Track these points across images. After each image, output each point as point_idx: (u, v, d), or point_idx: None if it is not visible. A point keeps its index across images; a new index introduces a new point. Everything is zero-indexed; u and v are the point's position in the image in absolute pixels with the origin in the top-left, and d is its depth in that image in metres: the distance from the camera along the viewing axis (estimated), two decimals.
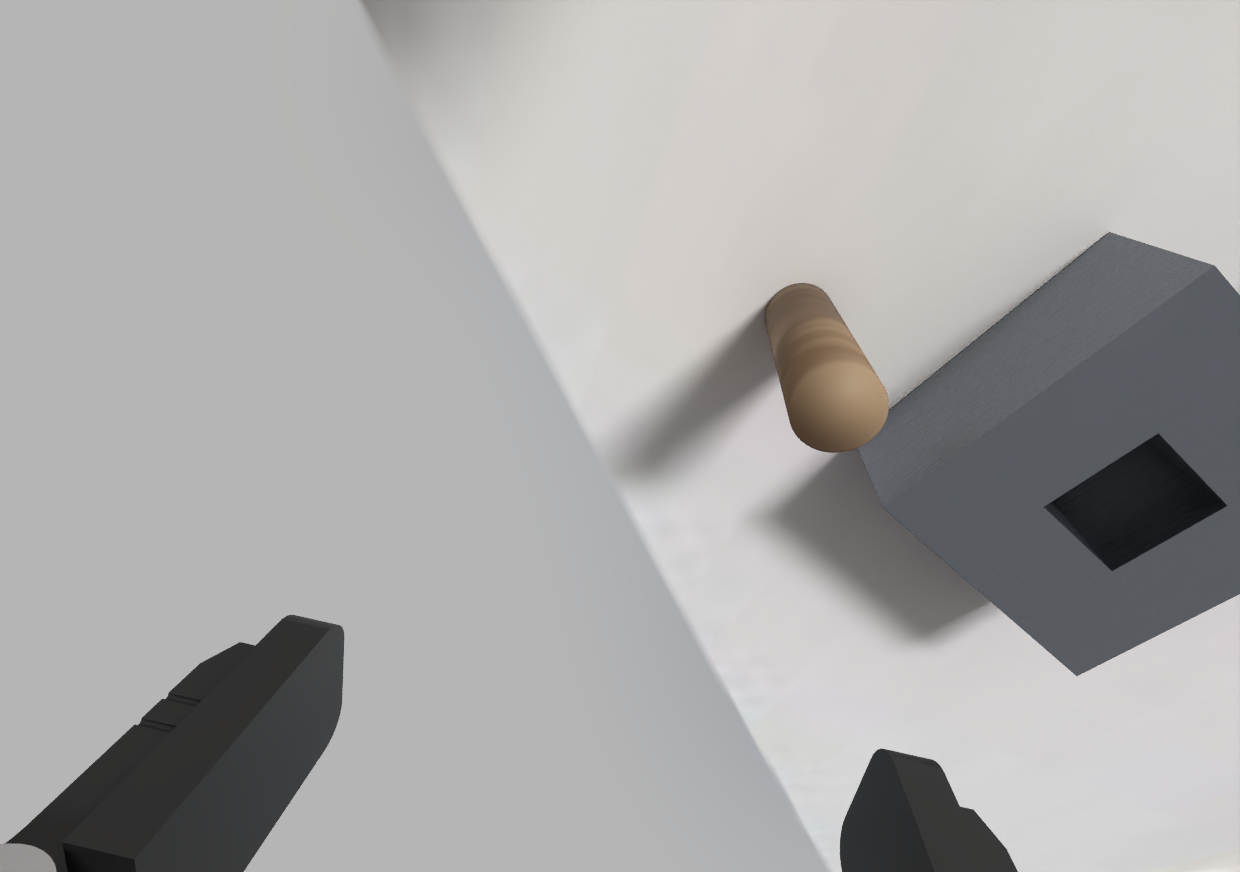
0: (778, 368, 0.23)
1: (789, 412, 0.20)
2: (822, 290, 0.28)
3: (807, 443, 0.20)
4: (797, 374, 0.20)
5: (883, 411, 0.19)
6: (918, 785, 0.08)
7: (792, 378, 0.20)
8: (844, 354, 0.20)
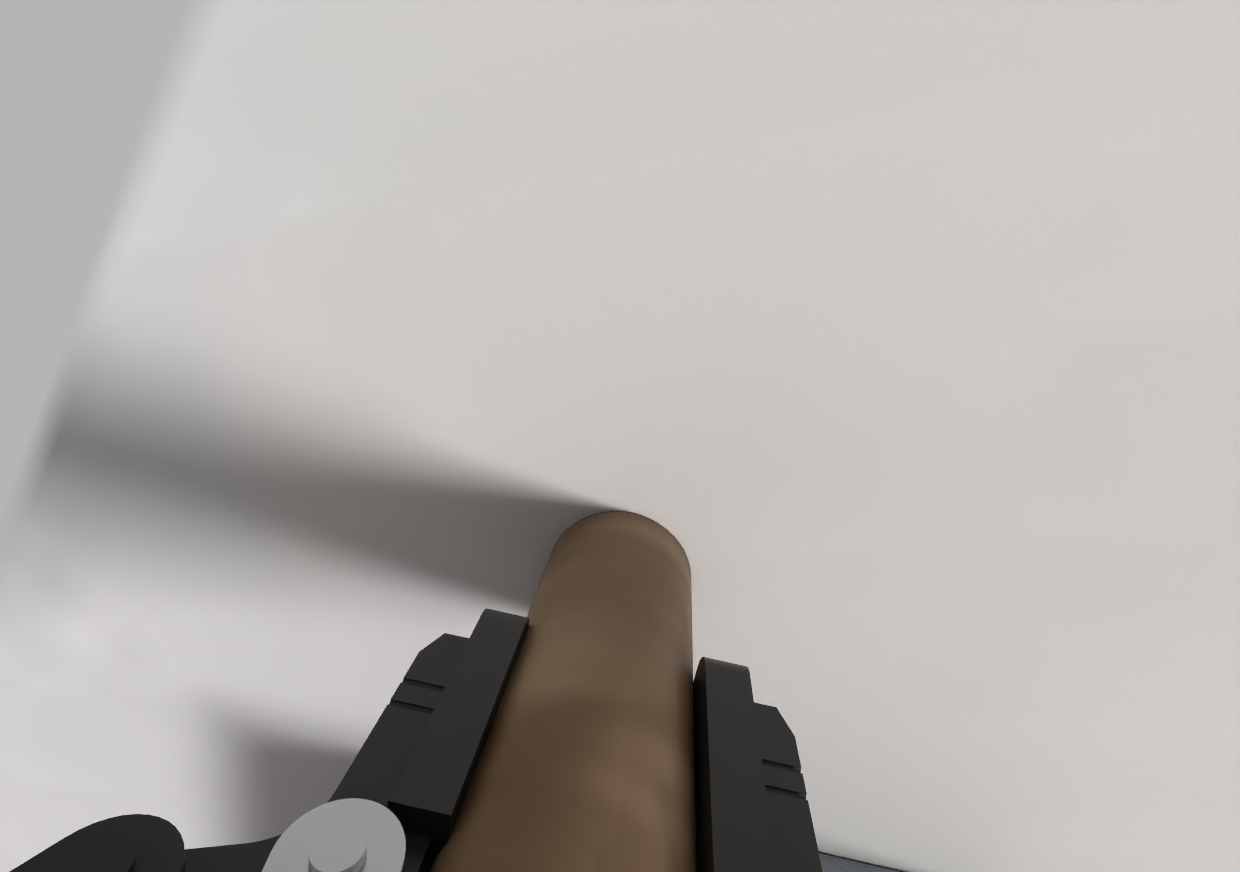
0: (489, 799, 0.07)
1: None
2: None
3: None
4: None
5: None
6: (721, 682, 0.09)
7: None
8: None
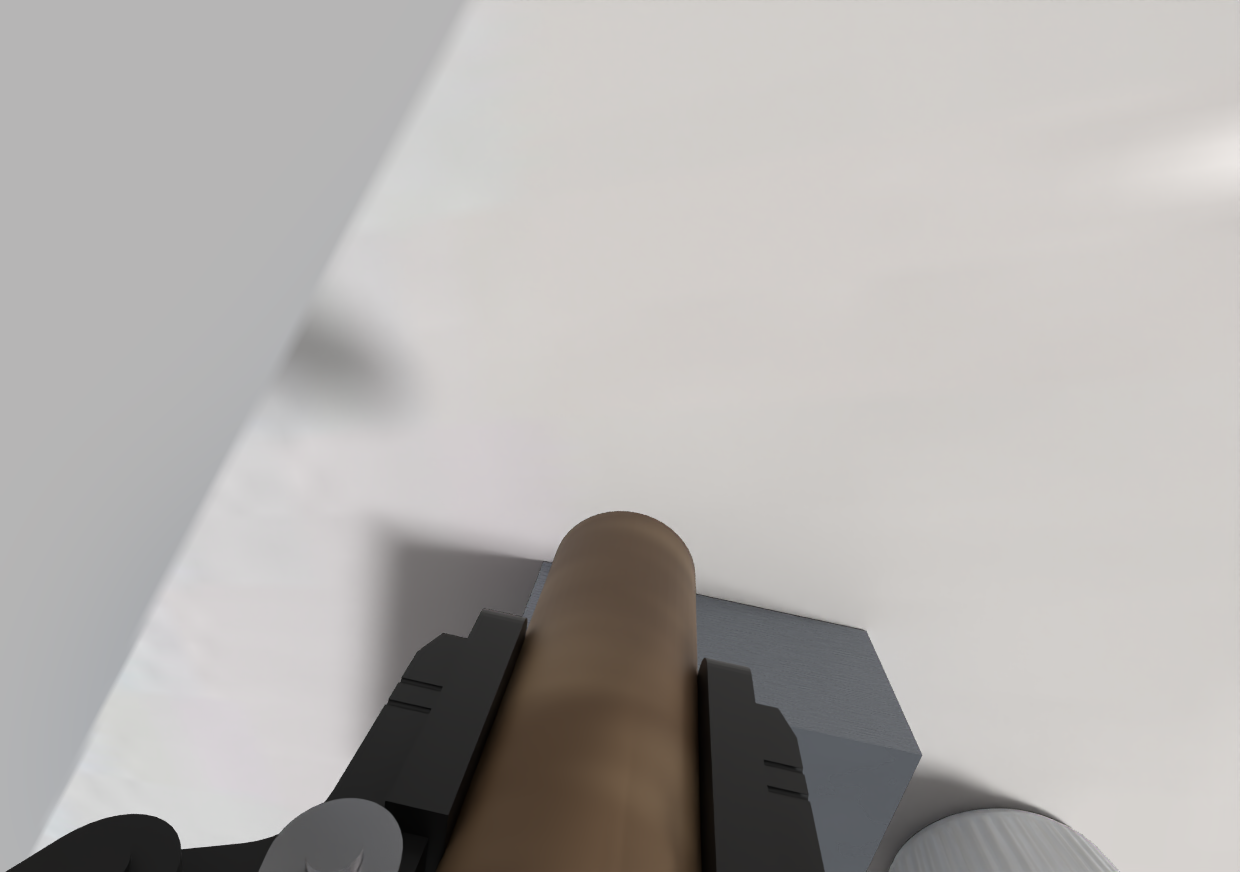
0: (495, 796, 0.07)
1: None
2: None
3: None
4: None
5: None
6: (723, 683, 0.09)
7: None
8: None
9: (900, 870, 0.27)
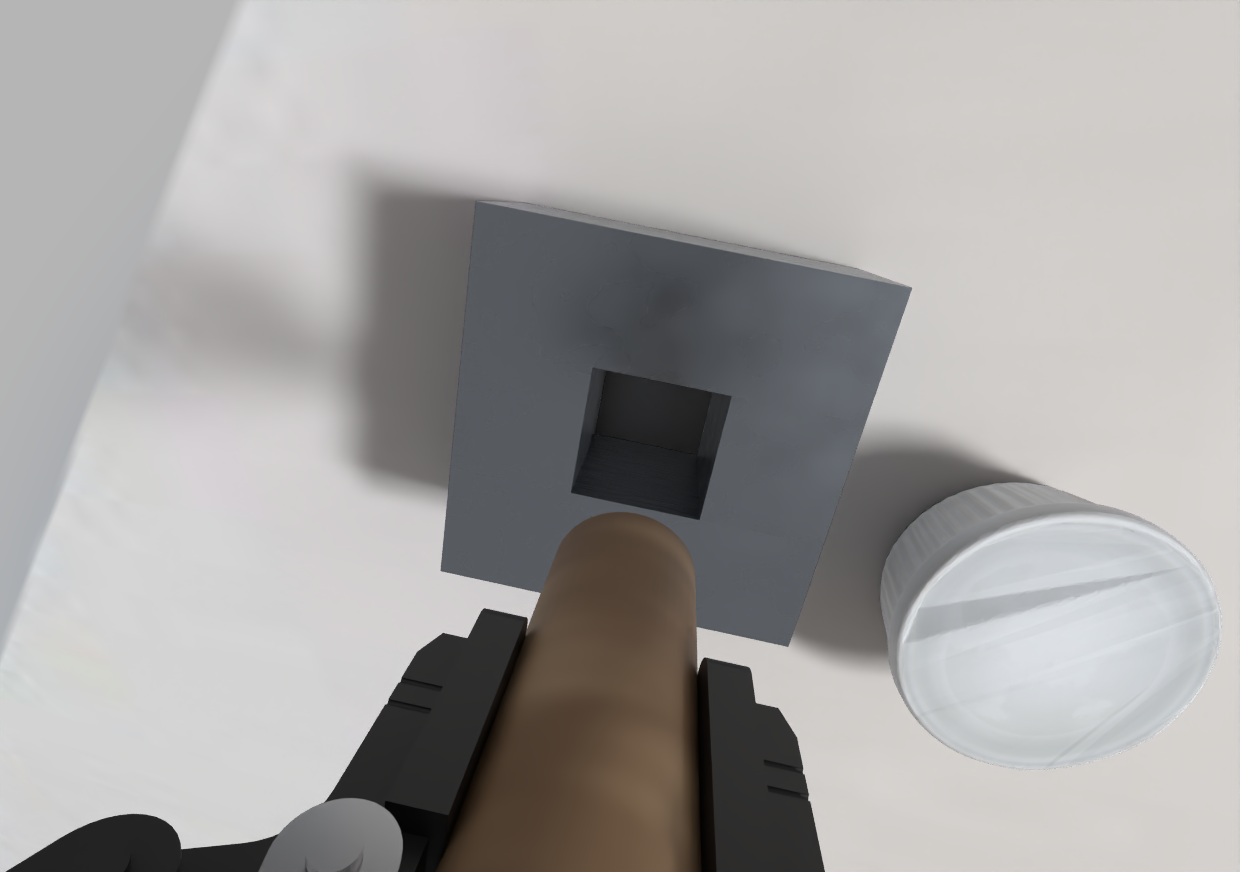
0: (495, 798, 0.07)
1: None
2: None
3: None
4: None
5: None
6: (723, 683, 0.09)
7: None
8: None
9: (896, 550, 0.26)
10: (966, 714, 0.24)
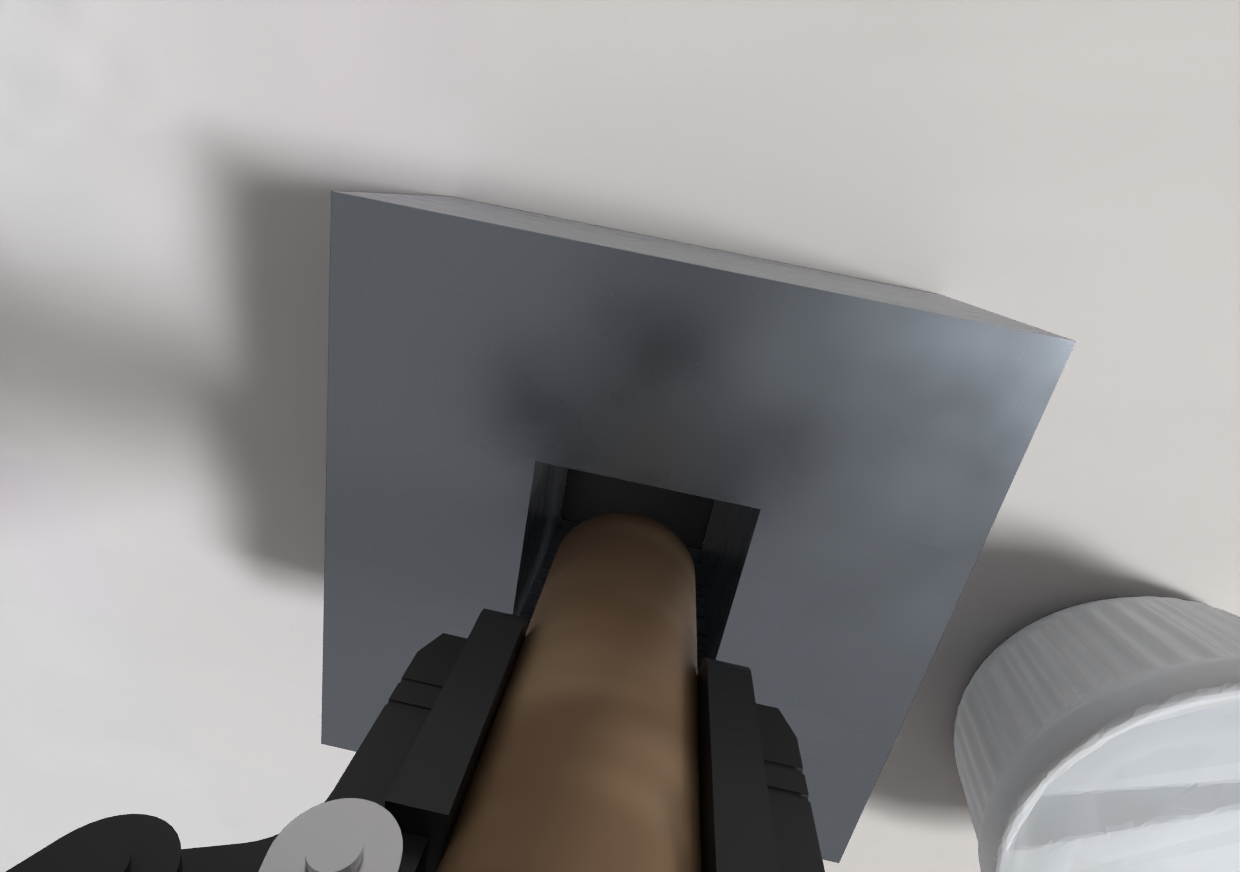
0: (494, 799, 0.07)
1: None
2: None
3: None
4: None
5: None
6: (723, 683, 0.09)
7: None
8: None
9: (982, 687, 0.19)
10: None
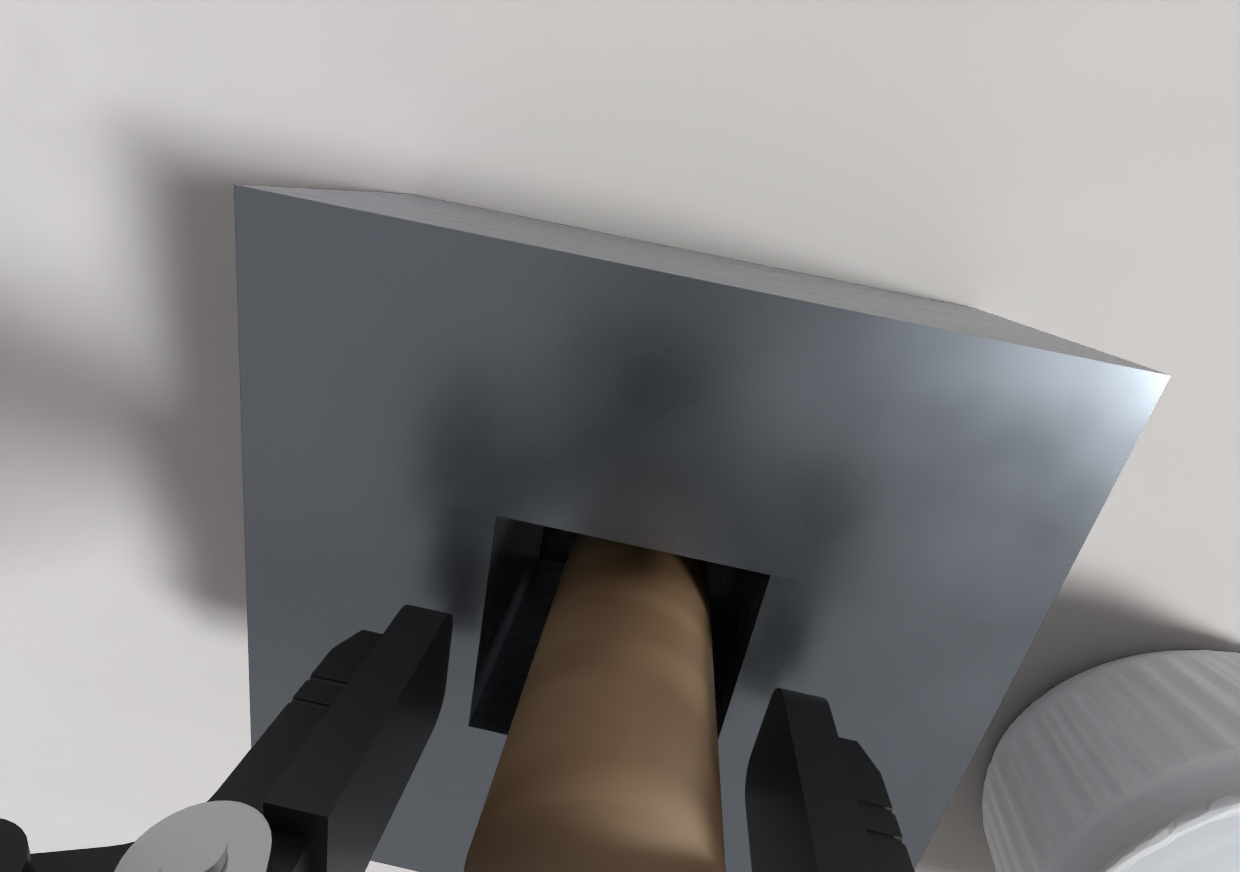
0: (573, 610, 0.10)
1: (512, 808, 0.07)
2: None
3: None
4: (609, 738, 0.07)
5: None
6: (803, 716, 0.09)
7: (589, 728, 0.07)
8: (713, 790, 0.08)
9: (1017, 752, 0.16)
10: None
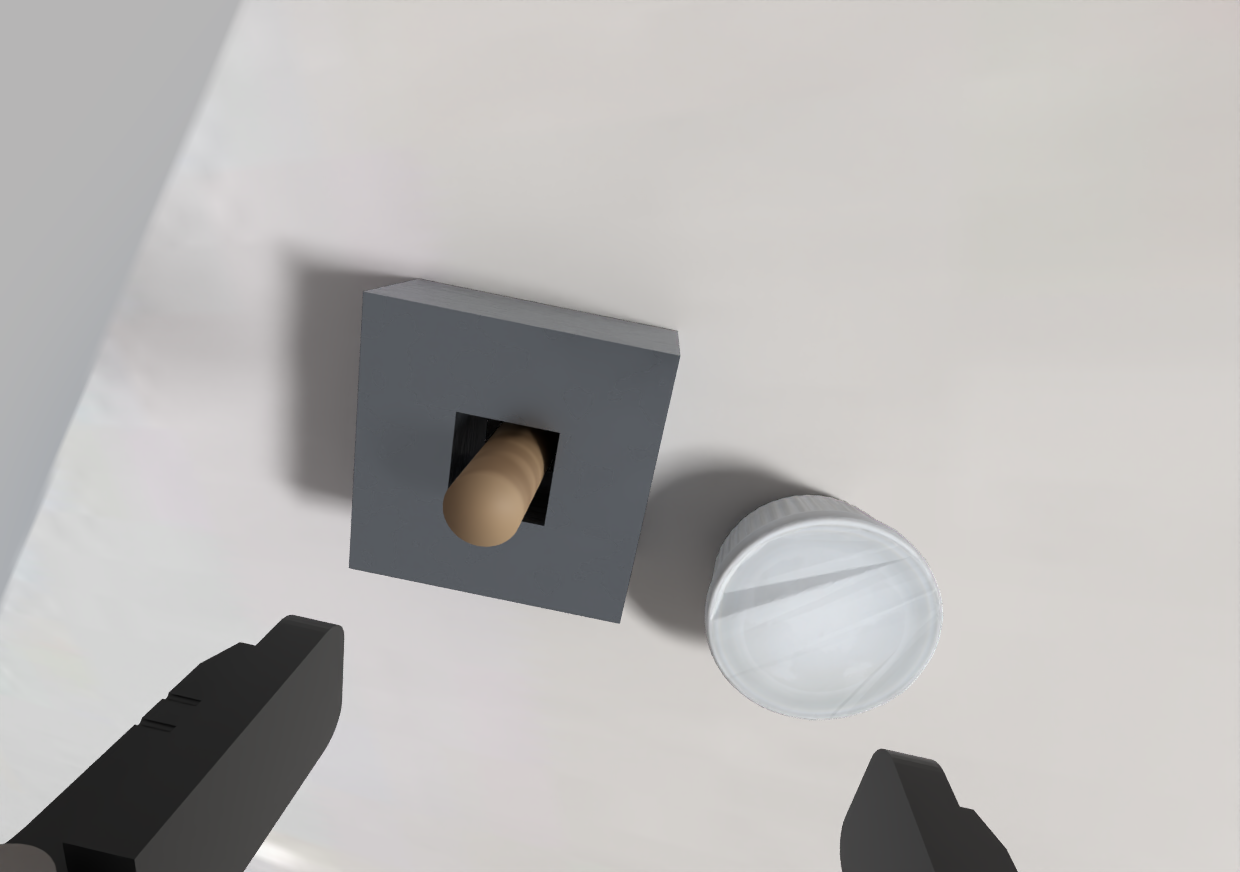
0: (485, 446, 0.26)
1: (456, 480, 0.23)
2: None
3: (444, 508, 0.24)
4: (488, 466, 0.24)
5: (502, 539, 0.24)
6: (918, 785, 0.08)
7: (482, 465, 0.24)
8: (522, 486, 0.24)
9: (721, 549, 0.33)
10: (764, 676, 0.31)
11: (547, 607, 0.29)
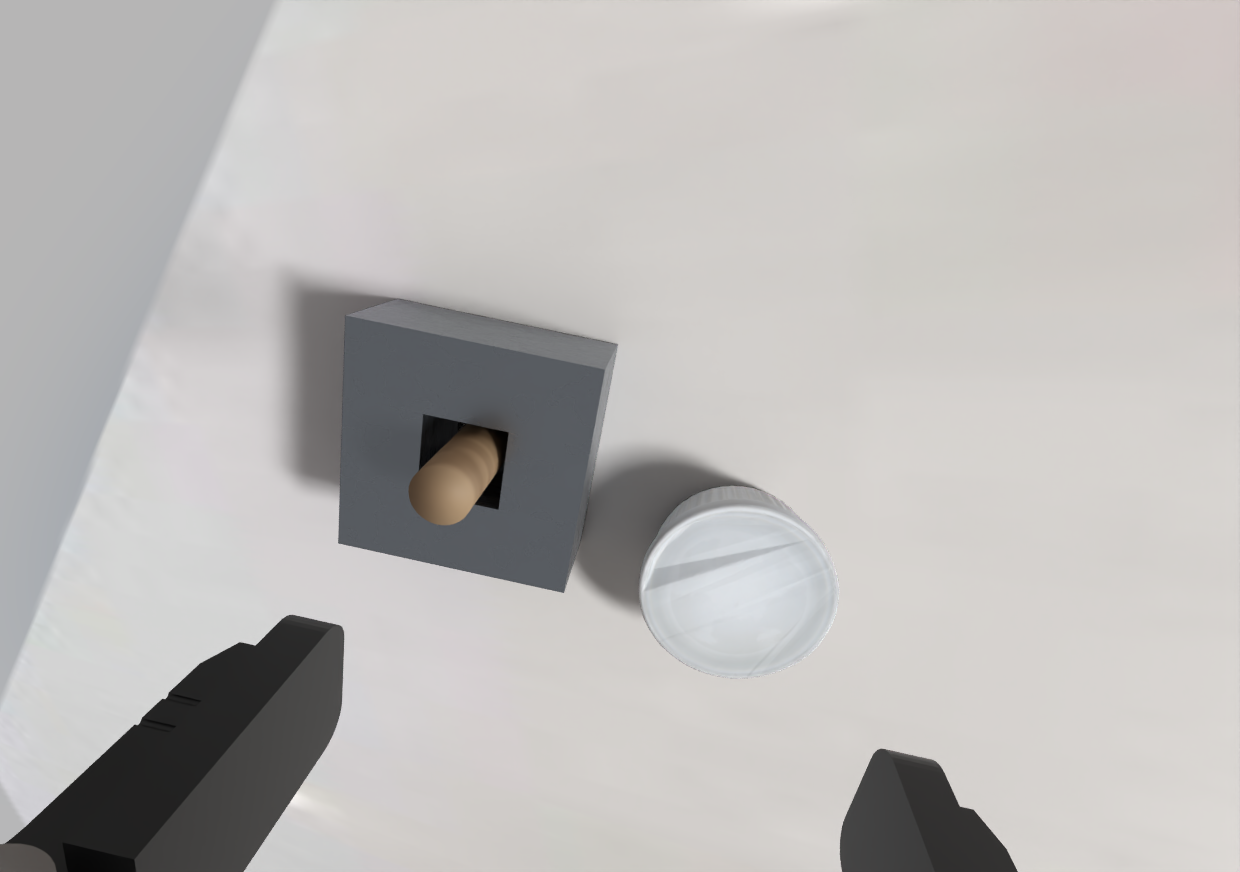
0: (447, 443, 0.32)
1: (419, 471, 0.29)
2: None
3: (409, 493, 0.29)
4: (445, 460, 0.29)
5: (457, 519, 0.29)
6: (918, 785, 0.08)
7: (441, 458, 0.29)
8: (474, 476, 0.30)
9: (658, 532, 0.38)
10: (690, 639, 0.36)
11: (503, 578, 0.35)
